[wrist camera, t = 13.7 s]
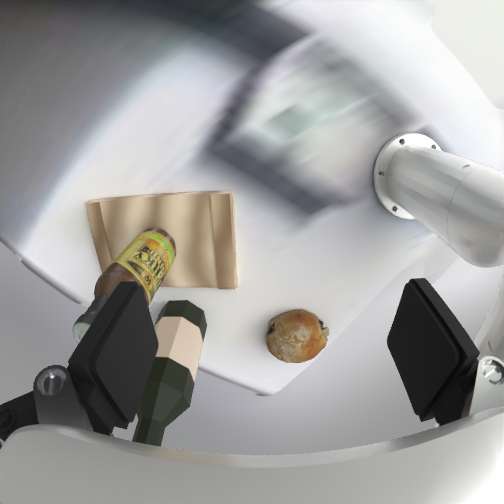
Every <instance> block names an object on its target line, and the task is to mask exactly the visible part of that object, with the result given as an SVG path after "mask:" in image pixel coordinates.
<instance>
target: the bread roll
mask: <svg viewBox="0 0 504 504" xmlns="http://www.w3.org/2000/svg"><path fill="white" fill-rule="evenodd" d="M269 325H270V328H269V331H268V334H267V347H268V349H269V351H270V352H271V354H272V355H273V356H275V357H276V358H277V359H279V360H281V361H284V362H286V363H288V362H291V363H301V362H305V361H307V360H310V359H312V358H314V357H315V356H316V355H317V354H318V353H319V352H320V351H321V350H322V349H323V348H325V346H326V342H327V338H326V337H327V336H328V335H329V329H328V328H327V327H326V328H323V326H322V325H323V322H322V321H320V320H319V319H318V317H317V316H316V315H314V314H312V313H309V312H306V311H303V310H300V311H295V310H294V311H291V312H287V313H284V314H281V315H279V316H278V317H277V318H275V319H274V318H273V319H272V320H271V321H270V322H269Z"/></svg>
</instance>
